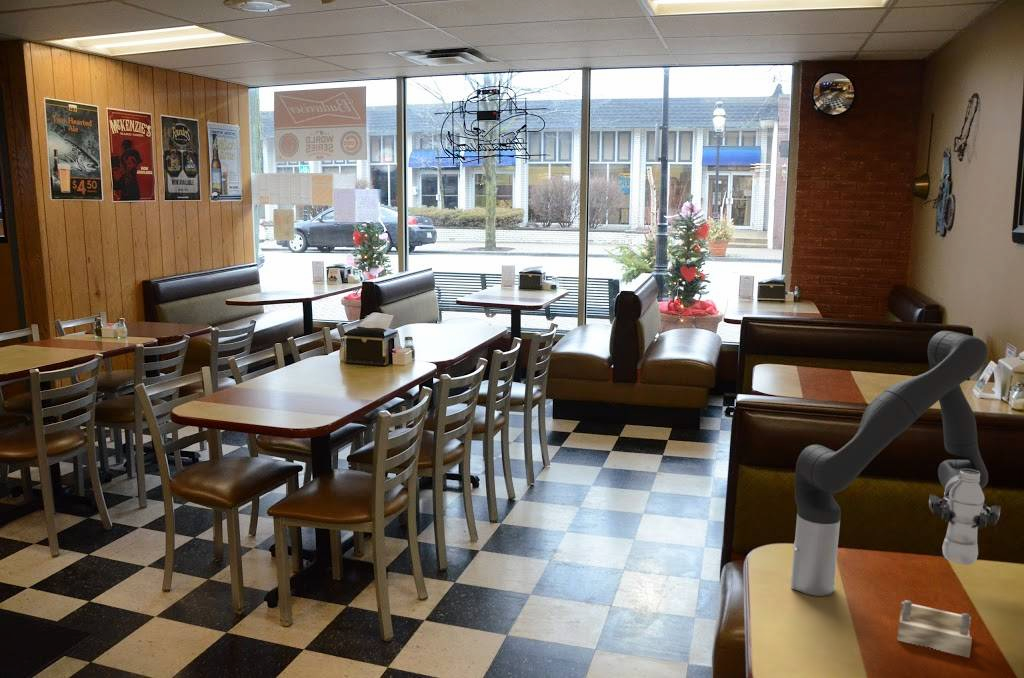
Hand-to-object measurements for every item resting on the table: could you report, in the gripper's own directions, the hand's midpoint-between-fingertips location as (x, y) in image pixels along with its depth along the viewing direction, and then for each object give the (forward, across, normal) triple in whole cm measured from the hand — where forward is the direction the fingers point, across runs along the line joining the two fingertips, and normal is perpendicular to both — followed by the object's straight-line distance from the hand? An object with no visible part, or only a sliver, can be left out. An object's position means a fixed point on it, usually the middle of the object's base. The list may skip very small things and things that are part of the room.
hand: (964, 521), depth 170 cm
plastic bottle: (-3, 0, +10) cm, 11 cm away
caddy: (+7, -3, +23) cm, 25 cm away
